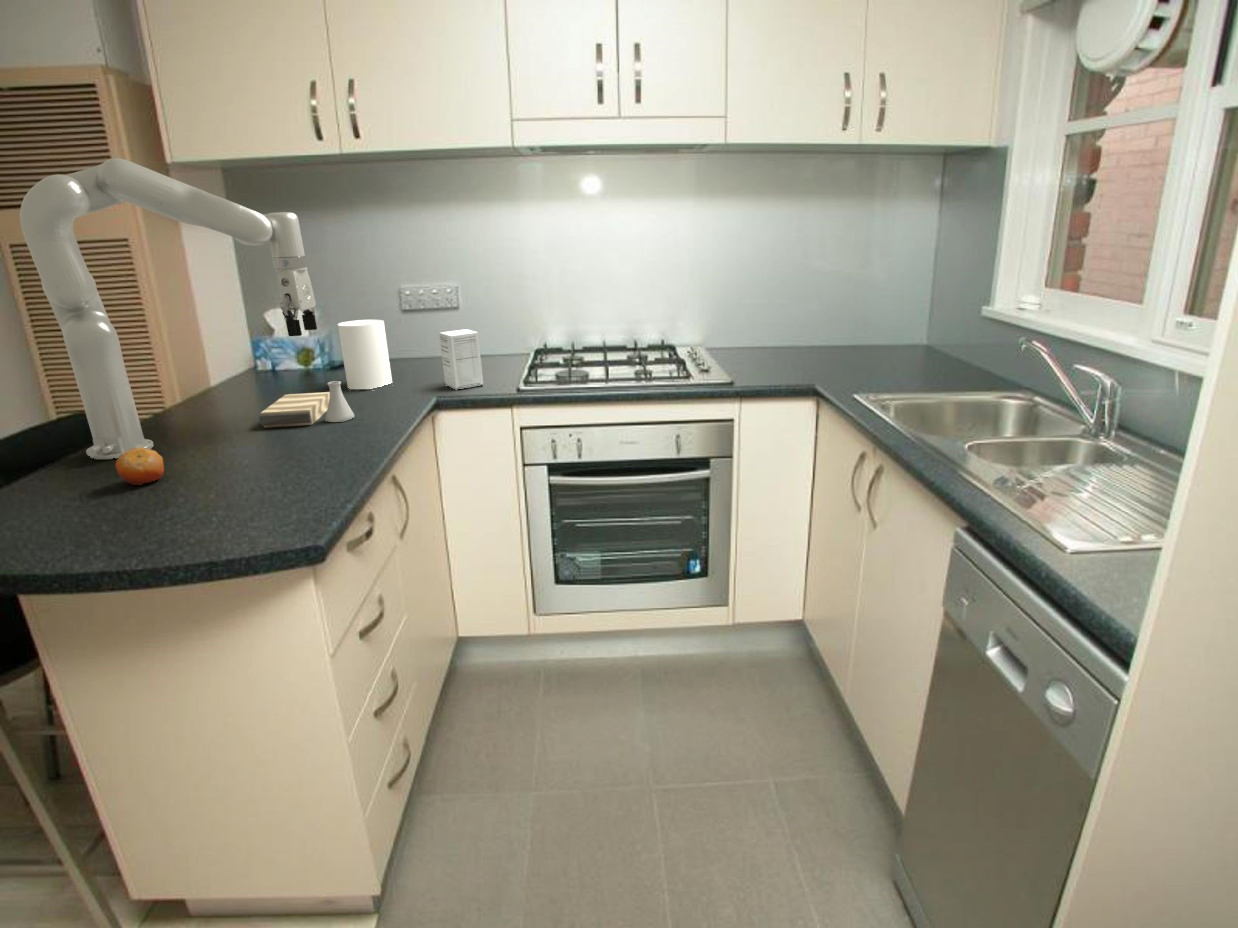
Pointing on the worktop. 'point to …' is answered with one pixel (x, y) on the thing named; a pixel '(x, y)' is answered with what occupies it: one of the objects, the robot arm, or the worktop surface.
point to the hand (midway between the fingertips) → (303, 332)
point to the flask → (337, 405)
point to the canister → (365, 354)
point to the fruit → (140, 466)
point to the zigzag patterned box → (295, 410)
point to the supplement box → (461, 358)
